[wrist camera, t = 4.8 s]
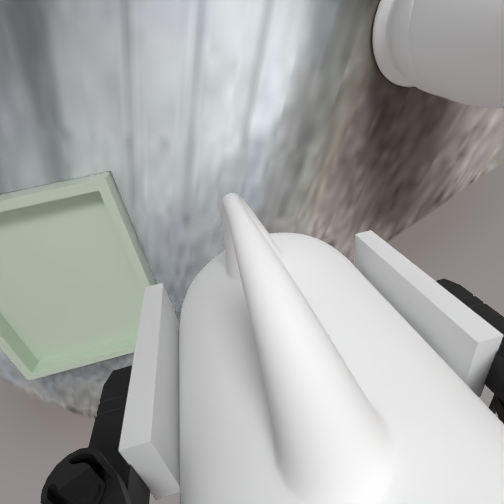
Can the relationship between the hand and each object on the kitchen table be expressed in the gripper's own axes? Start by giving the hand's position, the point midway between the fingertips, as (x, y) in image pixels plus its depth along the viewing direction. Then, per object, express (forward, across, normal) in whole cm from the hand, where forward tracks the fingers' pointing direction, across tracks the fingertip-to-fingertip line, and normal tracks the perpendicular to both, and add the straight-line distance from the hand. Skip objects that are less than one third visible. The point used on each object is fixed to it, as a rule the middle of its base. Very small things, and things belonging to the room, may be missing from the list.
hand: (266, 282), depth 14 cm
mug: (+1, 0, 0) cm, 1 cm away
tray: (+16, -16, -6) cm, 24 cm away
